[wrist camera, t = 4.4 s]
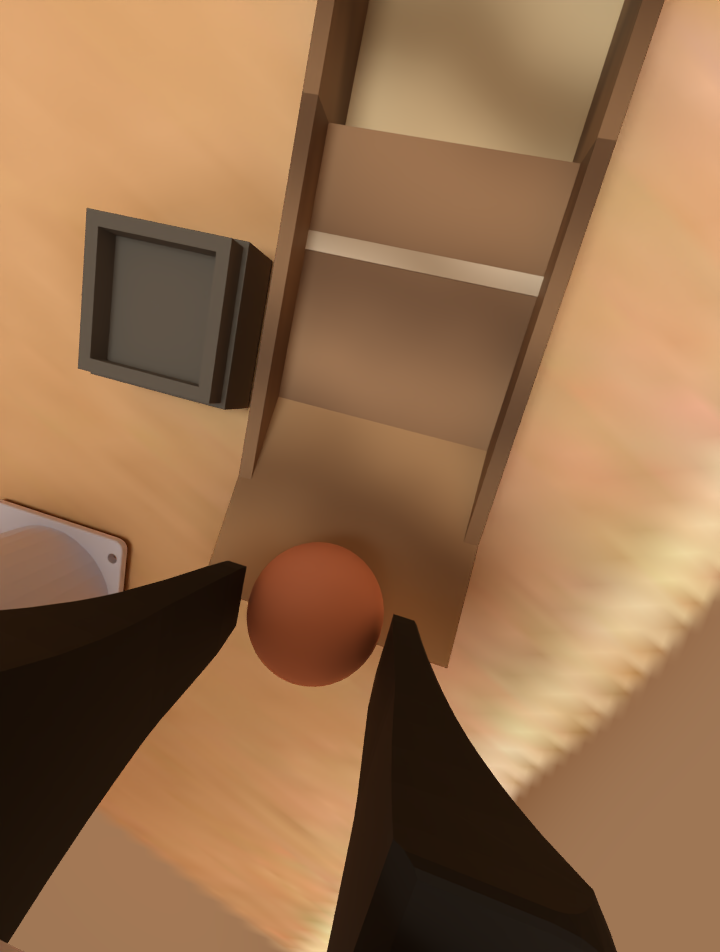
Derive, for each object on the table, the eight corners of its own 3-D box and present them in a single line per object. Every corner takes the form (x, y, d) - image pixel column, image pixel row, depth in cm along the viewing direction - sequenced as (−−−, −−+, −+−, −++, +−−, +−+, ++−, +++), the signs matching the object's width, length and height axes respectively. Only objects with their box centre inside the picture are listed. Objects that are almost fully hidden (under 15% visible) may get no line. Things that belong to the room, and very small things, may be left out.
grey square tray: (248, 407, 17) (213, 410, 14) (127, 375, 18) (73, 372, 15) (272, 261, 15) (238, 232, 13) (140, 233, 16) (82, 200, 13)
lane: (441, 605, 17) (444, 677, 13) (255, 547, 18) (200, 594, 14) (662, -65, 11) (801, -344, 7) (373, -91, 13) (343, -346, 8)
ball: (401, 542, 13) (398, 607, 9) (370, 643, 14) (356, 742, 10) (287, 510, 13) (236, 559, 9) (264, 611, 14) (209, 695, 10)
